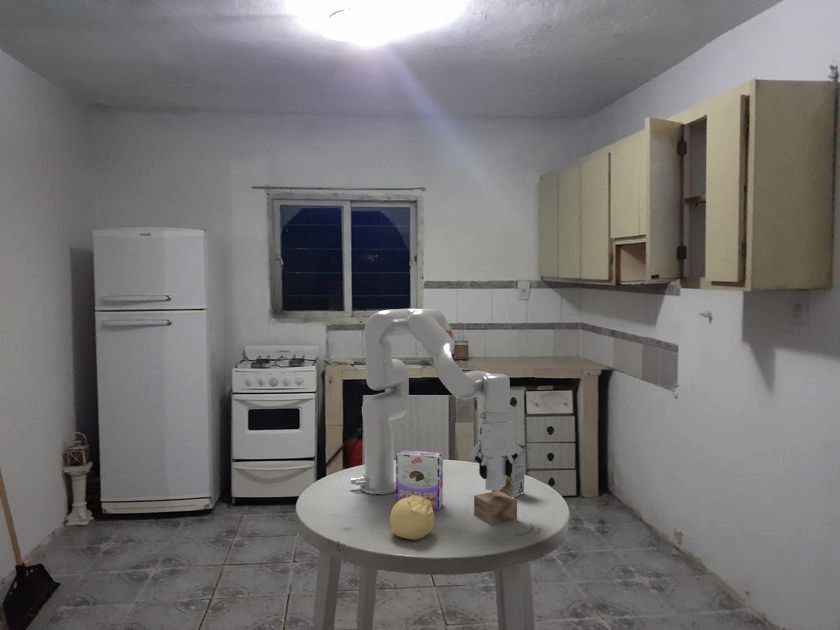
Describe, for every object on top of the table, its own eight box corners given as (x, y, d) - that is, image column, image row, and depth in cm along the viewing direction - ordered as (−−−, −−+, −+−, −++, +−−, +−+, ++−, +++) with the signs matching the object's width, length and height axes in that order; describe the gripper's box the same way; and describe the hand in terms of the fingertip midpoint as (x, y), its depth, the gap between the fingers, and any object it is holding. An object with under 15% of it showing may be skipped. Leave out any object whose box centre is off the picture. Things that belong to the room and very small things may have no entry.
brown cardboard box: (491, 525, 185) (491, 504, 185) (474, 515, 193) (474, 495, 193) (516, 520, 190) (517, 499, 189) (499, 510, 198) (499, 490, 197)
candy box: (443, 504, 202) (444, 451, 201) (439, 510, 196) (439, 457, 195) (401, 499, 206) (401, 448, 205) (395, 506, 200) (395, 453, 199)
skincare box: (492, 483, 195) (492, 443, 194) (506, 485, 193) (506, 445, 192) (484, 489, 189) (485, 448, 188) (498, 491, 187) (499, 450, 186)
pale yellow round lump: (430, 545, 171) (430, 505, 170) (385, 542, 173) (386, 502, 172) (437, 529, 182) (437, 491, 182) (395, 525, 184) (395, 488, 184)
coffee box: (490, 491, 214) (491, 443, 213) (502, 487, 218) (502, 440, 217) (514, 498, 207) (514, 448, 206) (525, 493, 212) (526, 445, 211)
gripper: (472, 421, 184) (471, 483, 185) (529, 417, 188) (528, 478, 189) (463, 415, 191) (463, 475, 192) (518, 412, 196) (518, 470, 197)
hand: (495, 476), depth 191 cm, fingers closed on skincare box, 7 cm apart
